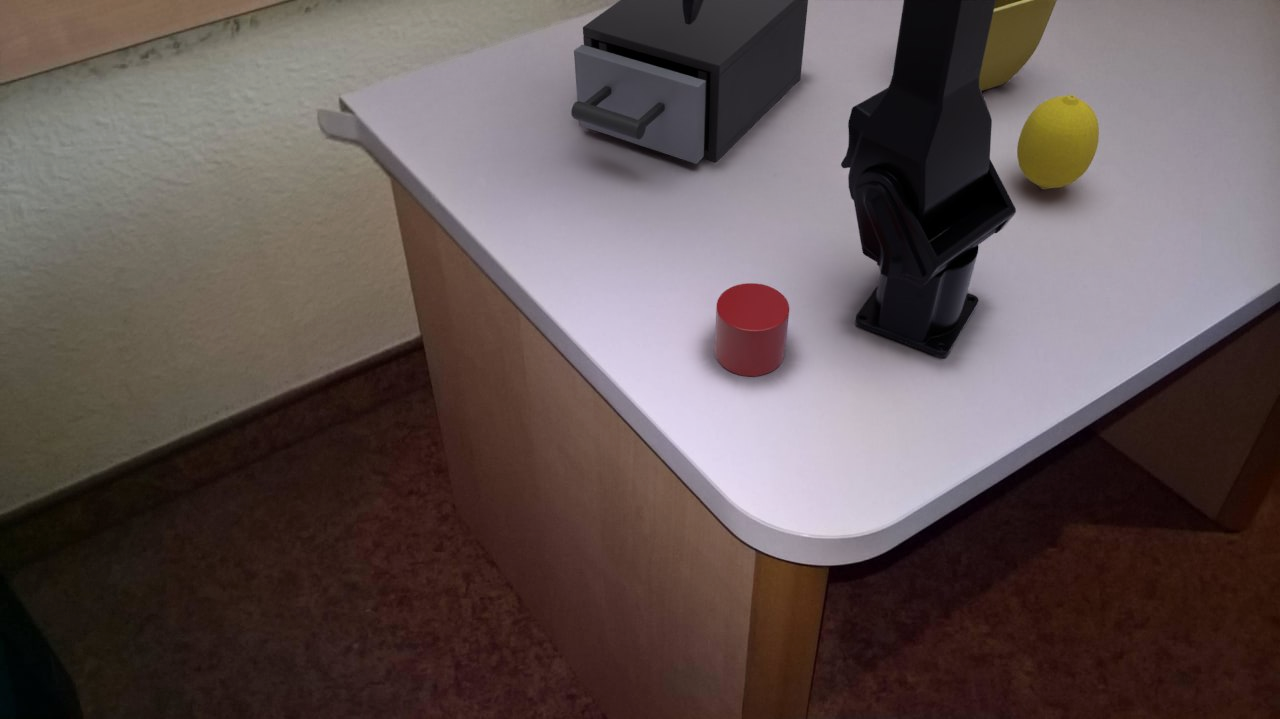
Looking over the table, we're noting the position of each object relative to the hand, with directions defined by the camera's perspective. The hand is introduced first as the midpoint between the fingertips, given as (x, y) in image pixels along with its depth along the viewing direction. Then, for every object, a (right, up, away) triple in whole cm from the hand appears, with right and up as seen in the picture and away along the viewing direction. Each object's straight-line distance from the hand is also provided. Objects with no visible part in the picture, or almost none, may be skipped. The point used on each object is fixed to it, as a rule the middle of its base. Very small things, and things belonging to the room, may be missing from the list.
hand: (635, 7), depth 77 cm
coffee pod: (+7, -26, -9) cm, 28 cm away
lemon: (+32, -13, +3) cm, 35 cm away
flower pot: (+29, -1, +16) cm, 33 cm away
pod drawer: (+3, -6, +10) cm, 12 cm away
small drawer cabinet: (+5, -3, +14) cm, 15 cm away
